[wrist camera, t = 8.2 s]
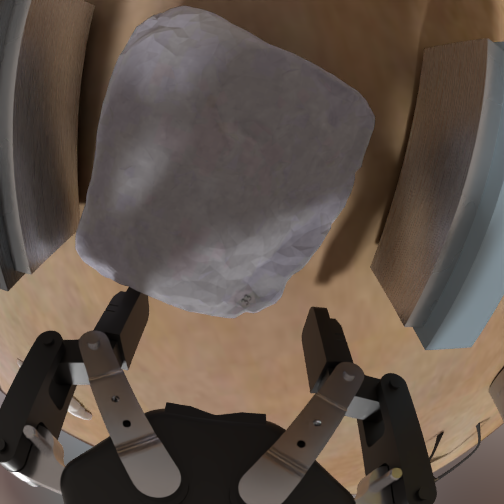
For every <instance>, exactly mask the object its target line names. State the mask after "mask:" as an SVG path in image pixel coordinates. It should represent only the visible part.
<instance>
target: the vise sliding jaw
mask: <svg viewBox="0 0 504 504" xmlns="http://www.w3.org/2000/svg"><path fill="white" fill-rule="evenodd" d="M370 268H371V270H372V271H373V273H374V275H375V276H376V278H377V280H378V281H379V283H380V285H381V286H382V288H383V290H384V291H385V293H386V295H387V297H388V298H389V300H390V302H391V303H392V305H393V307H394V309H395V311H396V312H397V314H398V316H399V318H400V320H401V321H402V323H403V325H404V327H413V329H414V330H415V332H416V334H417V336H418V338H419V339H420V341H421V343H422V345H423V347H424V349H425V350H437V349H454V348H467V347H472V345H473V344H474V342H475V341H476V339H477V338H478V336H479V335H480V333H481V332H482V330H483V329H484V327H485V326H486V324H487V322H488V321H489V319H490V317H491V316H492V314H493V312H494V311H495V309H496V307H497V306H498V304H499V302H500V300H501V298H502V297H503V295H504V42H492V41H491V40H490V39H488V38H485V39H477V40H470V41H463V42H456V43H451V44H445V45H440V46H435V47H430V48H425V49H424V55H423V63H422V71H421V78H420V84H419V91H418V97H417V102H416V108H415V113H414V118H413V123H412V128H411V132H410V137H409V141H408V146H407V150H406V154H405V158H404V162H403V166H402V170H401V174H400V177H399V181H398V184H397V188H396V191H395V195H394V198H393V202H392V205H391V208H390V211H389V215H388V218H387V221H386V224H385V227H384V230H383V233H382V236H381V239H380V242H379V244H378V247H377V250H376V253H375V256H374V258H373V261H372V264H371V266H370Z"/></svg>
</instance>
